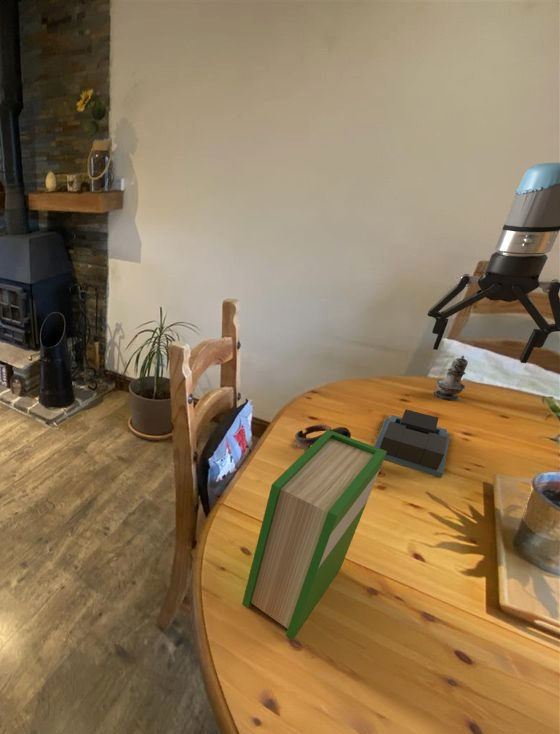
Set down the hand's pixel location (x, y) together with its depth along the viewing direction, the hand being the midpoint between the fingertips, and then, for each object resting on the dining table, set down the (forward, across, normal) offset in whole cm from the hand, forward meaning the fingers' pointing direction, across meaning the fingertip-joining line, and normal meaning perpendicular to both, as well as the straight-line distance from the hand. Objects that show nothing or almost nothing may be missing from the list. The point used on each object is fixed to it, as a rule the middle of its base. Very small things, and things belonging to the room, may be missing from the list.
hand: (477, 354), depth 90 cm
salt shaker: (+20, -1, +22) cm, 30 cm away
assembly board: (+20, -5, -11) cm, 24 cm away
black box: (+19, -5, -8) cm, 21 cm away
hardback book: (+20, -15, -66) cm, 70 cm away
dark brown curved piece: (+20, -20, -26) cm, 38 cm away
